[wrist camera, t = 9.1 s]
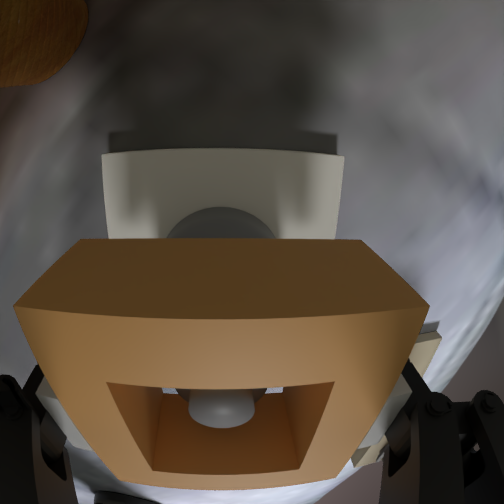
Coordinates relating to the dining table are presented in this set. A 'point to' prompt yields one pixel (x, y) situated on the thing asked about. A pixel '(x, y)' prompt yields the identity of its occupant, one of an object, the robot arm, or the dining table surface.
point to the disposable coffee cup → (38, 38)
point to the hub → (222, 216)
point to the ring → (222, 352)
